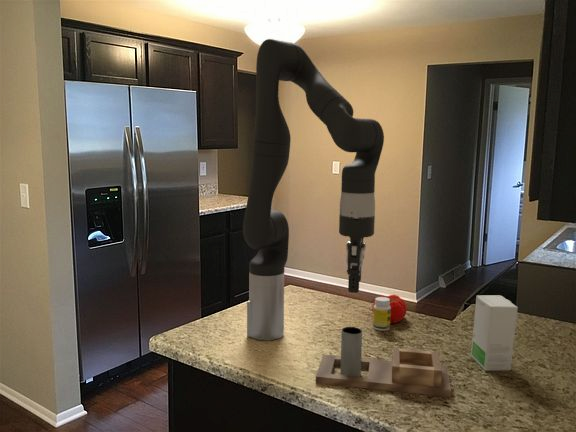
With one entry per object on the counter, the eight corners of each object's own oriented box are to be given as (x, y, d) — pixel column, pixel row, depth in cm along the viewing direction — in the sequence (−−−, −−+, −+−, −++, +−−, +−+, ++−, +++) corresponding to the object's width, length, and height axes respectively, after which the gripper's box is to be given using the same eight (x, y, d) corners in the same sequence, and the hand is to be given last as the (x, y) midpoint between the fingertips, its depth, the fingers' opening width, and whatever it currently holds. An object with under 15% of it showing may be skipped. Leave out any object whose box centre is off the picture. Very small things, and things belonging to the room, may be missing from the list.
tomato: (370, 324, 150) (371, 302, 149) (373, 312, 160) (374, 291, 159) (406, 327, 148) (407, 304, 147) (406, 314, 158) (407, 293, 157)
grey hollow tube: (338, 370, 120) (339, 326, 118) (358, 369, 120) (359, 326, 119) (342, 379, 115) (343, 334, 114) (362, 378, 116) (364, 333, 114)
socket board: (315, 383, 113) (316, 361, 112) (323, 360, 125) (323, 340, 124) (451, 397, 108) (452, 373, 107) (445, 371, 119) (446, 350, 119)
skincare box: (470, 356, 128) (474, 294, 126) (496, 356, 128) (501, 294, 126) (485, 371, 120) (490, 305, 117) (513, 371, 120) (518, 305, 118)
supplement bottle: (389, 331, 144) (391, 302, 143) (372, 330, 145) (373, 300, 143) (390, 325, 148) (391, 297, 147) (373, 324, 149) (374, 295, 148)
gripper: (342, 208, 120) (340, 277, 123) (336, 217, 106) (334, 294, 109) (375, 209, 119) (373, 279, 121) (373, 218, 105) (371, 297, 107)
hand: (354, 286), depth 115 cm, fingers open, 8 cm apart
